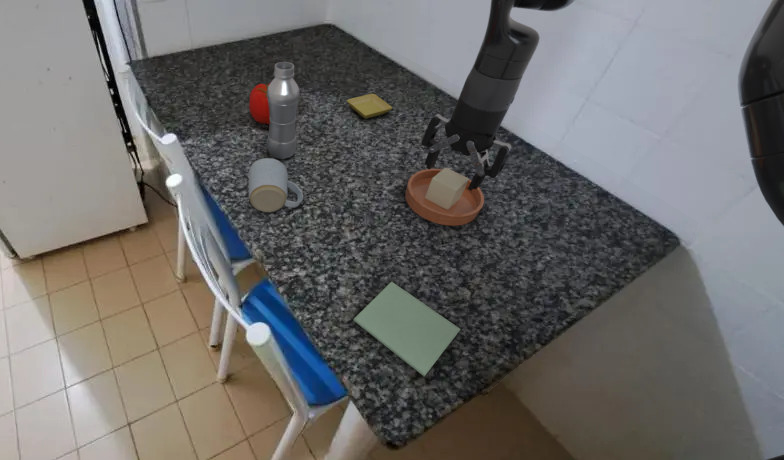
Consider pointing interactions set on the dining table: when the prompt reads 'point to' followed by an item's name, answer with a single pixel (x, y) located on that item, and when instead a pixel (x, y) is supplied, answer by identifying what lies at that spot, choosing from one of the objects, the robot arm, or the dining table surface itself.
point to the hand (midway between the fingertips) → (450, 177)
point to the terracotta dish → (454, 216)
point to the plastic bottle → (282, 111)
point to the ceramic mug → (271, 186)
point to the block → (446, 188)
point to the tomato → (260, 104)
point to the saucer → (369, 105)
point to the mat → (407, 327)
